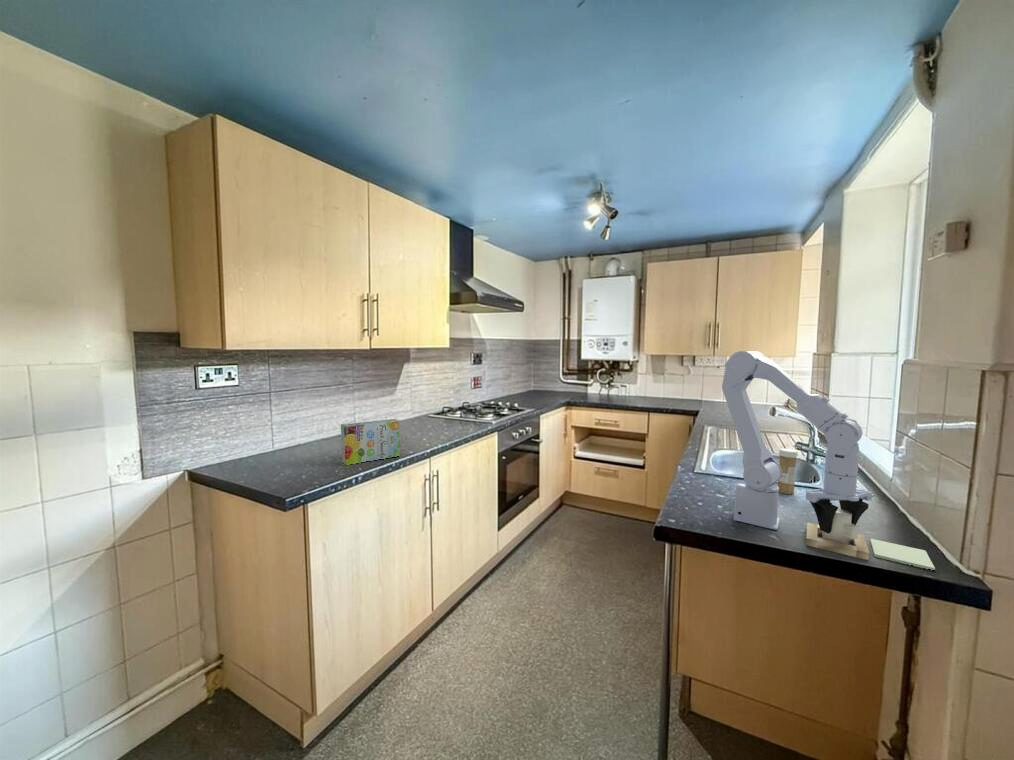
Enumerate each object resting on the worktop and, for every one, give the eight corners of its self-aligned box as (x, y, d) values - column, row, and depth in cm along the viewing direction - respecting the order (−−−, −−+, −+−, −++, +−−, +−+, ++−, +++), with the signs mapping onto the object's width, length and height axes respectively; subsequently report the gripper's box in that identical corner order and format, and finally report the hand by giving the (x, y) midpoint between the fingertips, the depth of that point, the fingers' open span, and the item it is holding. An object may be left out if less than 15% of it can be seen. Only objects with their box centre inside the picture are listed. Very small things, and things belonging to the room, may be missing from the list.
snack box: (395, 454, 165) (395, 418, 164) (400, 457, 161) (400, 420, 159) (341, 462, 153) (340, 423, 152) (345, 466, 148) (344, 425, 147)
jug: (815, 536, 95) (818, 507, 94) (835, 535, 95) (837, 506, 95) (843, 551, 88) (845, 520, 87) (863, 550, 88) (866, 519, 88)
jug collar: (806, 545, 91) (806, 538, 91) (806, 528, 100) (807, 522, 100) (868, 560, 85) (869, 552, 85) (863, 541, 93) (864, 534, 93)
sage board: (874, 556, 86) (874, 554, 86) (870, 540, 94) (870, 538, 94) (934, 571, 81) (935, 568, 81) (925, 553, 88) (925, 550, 88)
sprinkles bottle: (773, 489, 127) (775, 447, 126) (786, 489, 128) (789, 447, 127) (784, 495, 123) (787, 451, 122) (798, 494, 123) (801, 451, 122)
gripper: (826, 479, 86) (822, 540, 87) (887, 477, 88) (882, 537, 89) (799, 469, 93) (795, 526, 94) (856, 468, 95) (852, 523, 96)
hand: (836, 530), depth 92 cm, fingers closed on jug, 5 cm apart
